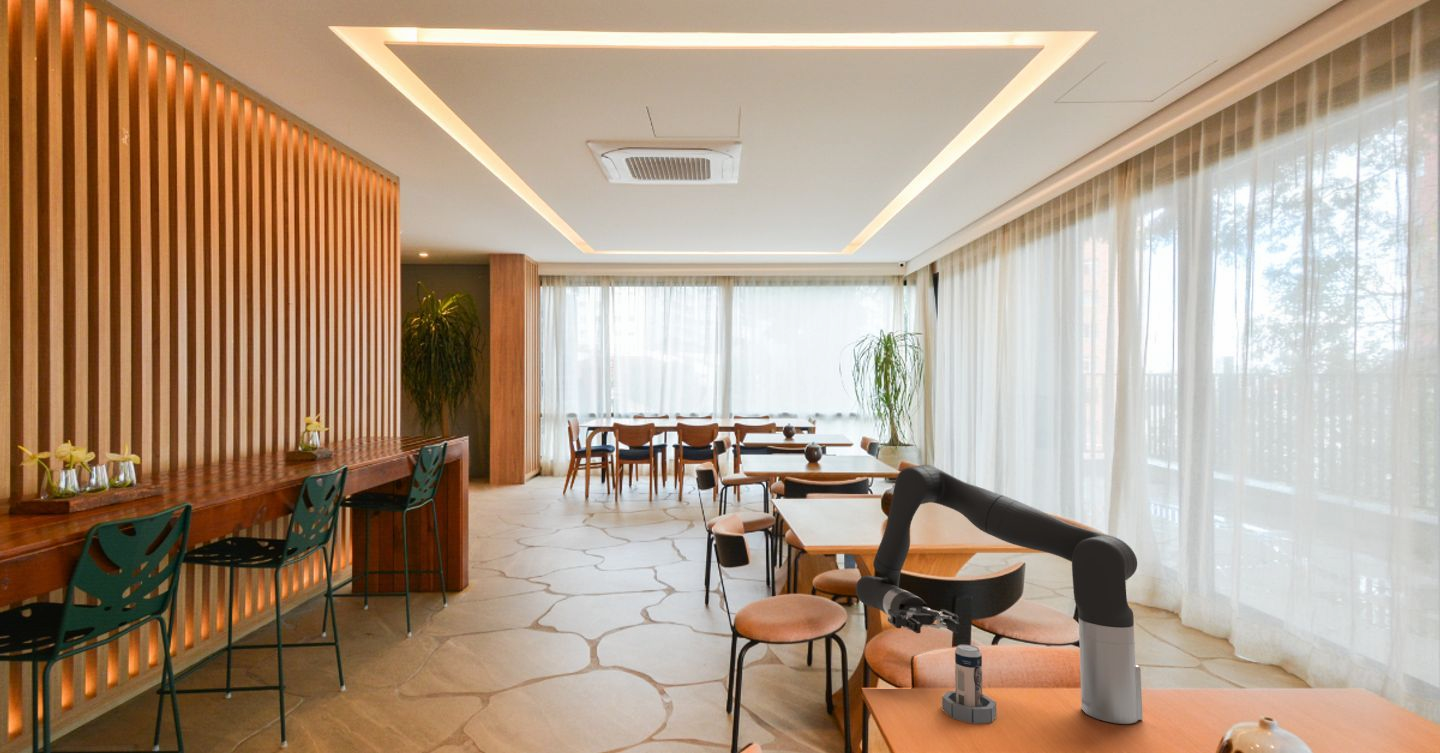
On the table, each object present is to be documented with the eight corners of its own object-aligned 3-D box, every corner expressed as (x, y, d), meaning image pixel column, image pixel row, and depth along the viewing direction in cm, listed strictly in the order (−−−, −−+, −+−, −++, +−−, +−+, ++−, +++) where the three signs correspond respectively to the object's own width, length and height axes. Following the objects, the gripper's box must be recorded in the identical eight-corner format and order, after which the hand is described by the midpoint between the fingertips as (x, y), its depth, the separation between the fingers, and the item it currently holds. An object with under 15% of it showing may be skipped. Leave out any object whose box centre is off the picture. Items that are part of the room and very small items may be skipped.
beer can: (985, 720, 120) (983, 652, 121) (957, 717, 121) (957, 650, 122) (980, 709, 124) (979, 644, 126) (953, 707, 125) (953, 642, 127)
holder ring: (978, 703, 128) (978, 690, 128) (1005, 722, 119) (1004, 708, 119) (935, 704, 126) (935, 691, 127) (959, 724, 117) (959, 709, 118)
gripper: (875, 591, 150) (906, 609, 134) (933, 591, 152) (970, 609, 136) (875, 624, 150) (906, 647, 134) (933, 624, 152) (970, 646, 136)
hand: (938, 628), depth 135 cm, fingers open, 8 cm apart
